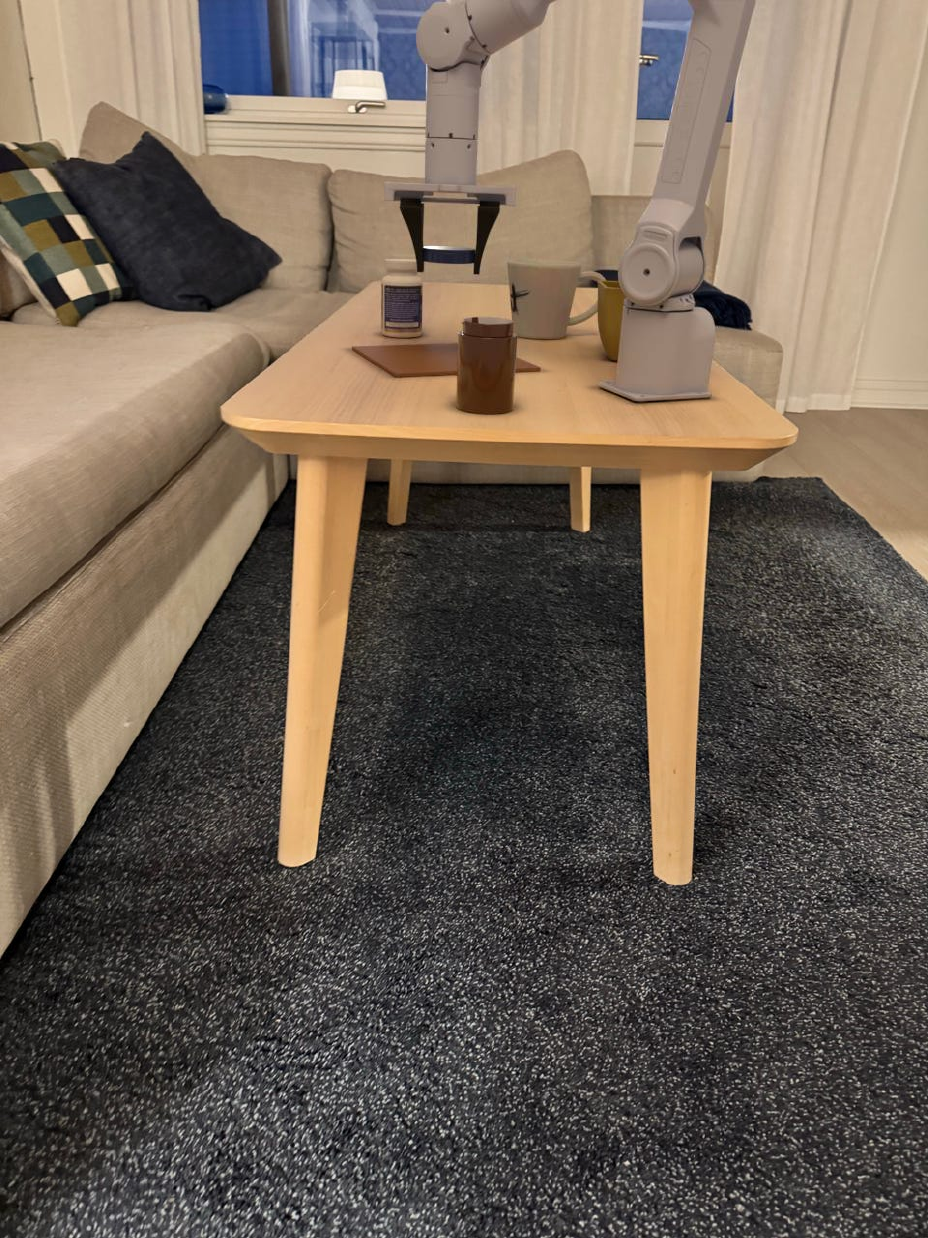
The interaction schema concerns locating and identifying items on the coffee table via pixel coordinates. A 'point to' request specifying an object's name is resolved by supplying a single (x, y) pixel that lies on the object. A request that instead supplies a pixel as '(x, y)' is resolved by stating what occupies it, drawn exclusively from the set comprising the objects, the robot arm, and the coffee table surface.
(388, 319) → the pill bottle
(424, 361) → the mat
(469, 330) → the jar
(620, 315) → the flower pot
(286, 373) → the coffee table surface
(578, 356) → the coffee table surface
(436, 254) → the lid
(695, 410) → the coffee table surface
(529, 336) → the mug
